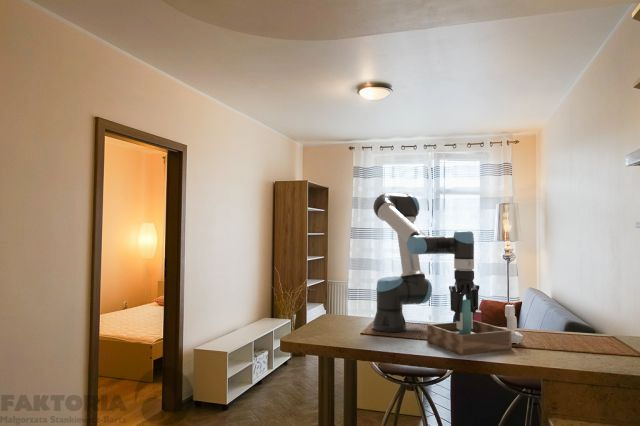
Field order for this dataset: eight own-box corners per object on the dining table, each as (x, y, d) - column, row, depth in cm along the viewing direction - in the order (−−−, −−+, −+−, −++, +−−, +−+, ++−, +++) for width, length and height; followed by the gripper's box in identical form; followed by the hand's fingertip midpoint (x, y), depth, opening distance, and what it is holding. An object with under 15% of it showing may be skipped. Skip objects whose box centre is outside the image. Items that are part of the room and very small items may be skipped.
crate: (427, 342, 172) (427, 324, 173) (474, 337, 181) (474, 320, 182) (460, 355, 154) (460, 335, 154) (511, 349, 163) (511, 330, 163)
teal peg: (464, 339, 166) (463, 300, 167) (456, 337, 171) (456, 299, 171) (473, 338, 168) (472, 300, 169) (465, 336, 172) (465, 298, 173)
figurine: (504, 344, 169) (504, 306, 170) (498, 339, 178) (498, 302, 179) (524, 345, 168) (523, 307, 168) (517, 339, 177) (516, 303, 178)
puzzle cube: (482, 335, 184) (482, 312, 185) (458, 334, 186) (458, 311, 187) (478, 330, 194) (478, 308, 194) (455, 329, 196) (455, 307, 196)
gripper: (452, 271, 164) (453, 332, 163) (488, 269, 170) (488, 329, 169) (440, 269, 171) (440, 328, 170) (474, 268, 177) (475, 325, 176)
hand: (464, 328), depth 170 cm, fingers closed on teal peg, 4 cm apart
